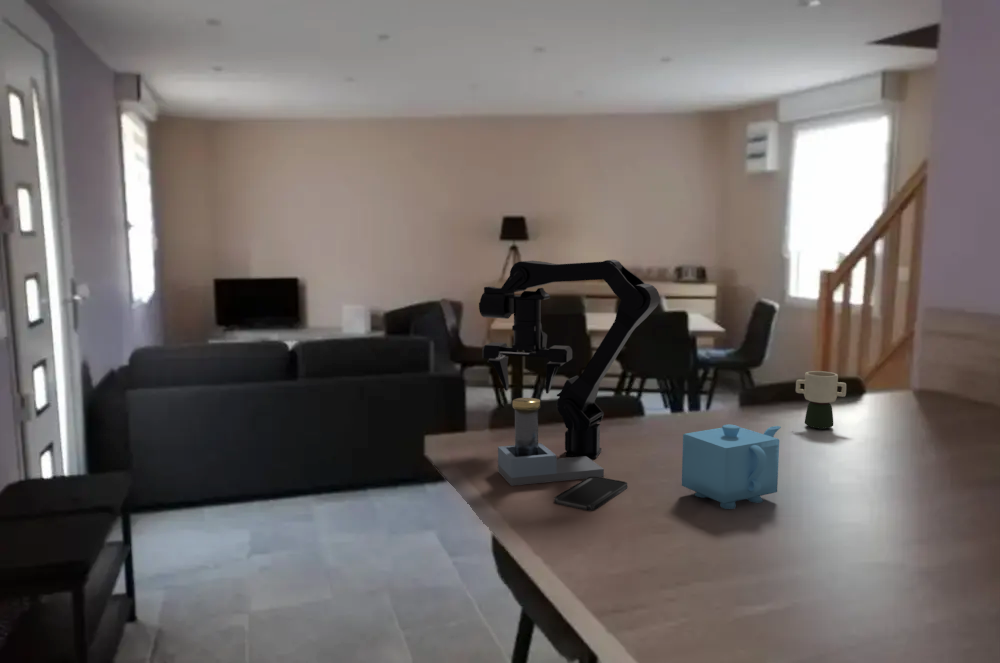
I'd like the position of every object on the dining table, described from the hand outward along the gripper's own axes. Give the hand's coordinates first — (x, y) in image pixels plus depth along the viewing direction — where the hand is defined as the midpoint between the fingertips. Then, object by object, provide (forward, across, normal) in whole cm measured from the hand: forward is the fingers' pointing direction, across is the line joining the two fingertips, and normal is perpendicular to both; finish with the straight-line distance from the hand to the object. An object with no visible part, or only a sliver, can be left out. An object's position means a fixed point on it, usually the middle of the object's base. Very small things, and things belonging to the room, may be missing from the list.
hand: (526, 391), depth 166 cm
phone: (+13, -20, +26) cm, 35 cm away
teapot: (+12, -45, +18) cm, 50 cm away
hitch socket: (+12, -10, +17) cm, 23 cm away
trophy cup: (+12, -61, -36) cm, 72 cm away
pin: (+10, -6, +20) cm, 23 cm away
